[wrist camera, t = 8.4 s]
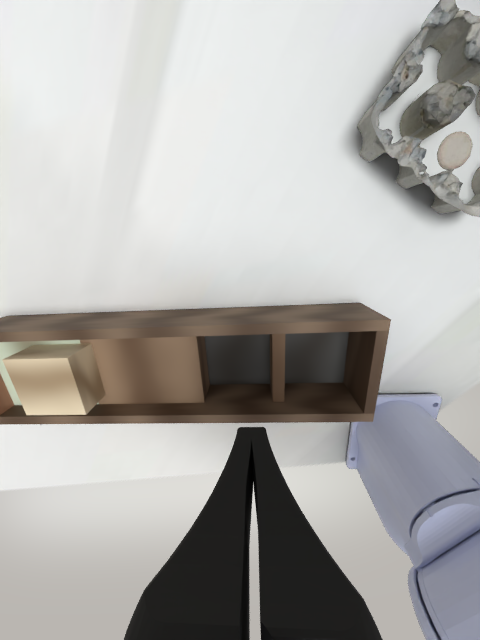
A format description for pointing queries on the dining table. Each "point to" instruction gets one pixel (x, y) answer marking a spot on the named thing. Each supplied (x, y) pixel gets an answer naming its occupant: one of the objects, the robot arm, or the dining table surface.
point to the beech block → (56, 379)
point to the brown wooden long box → (215, 363)
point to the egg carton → (432, 107)
